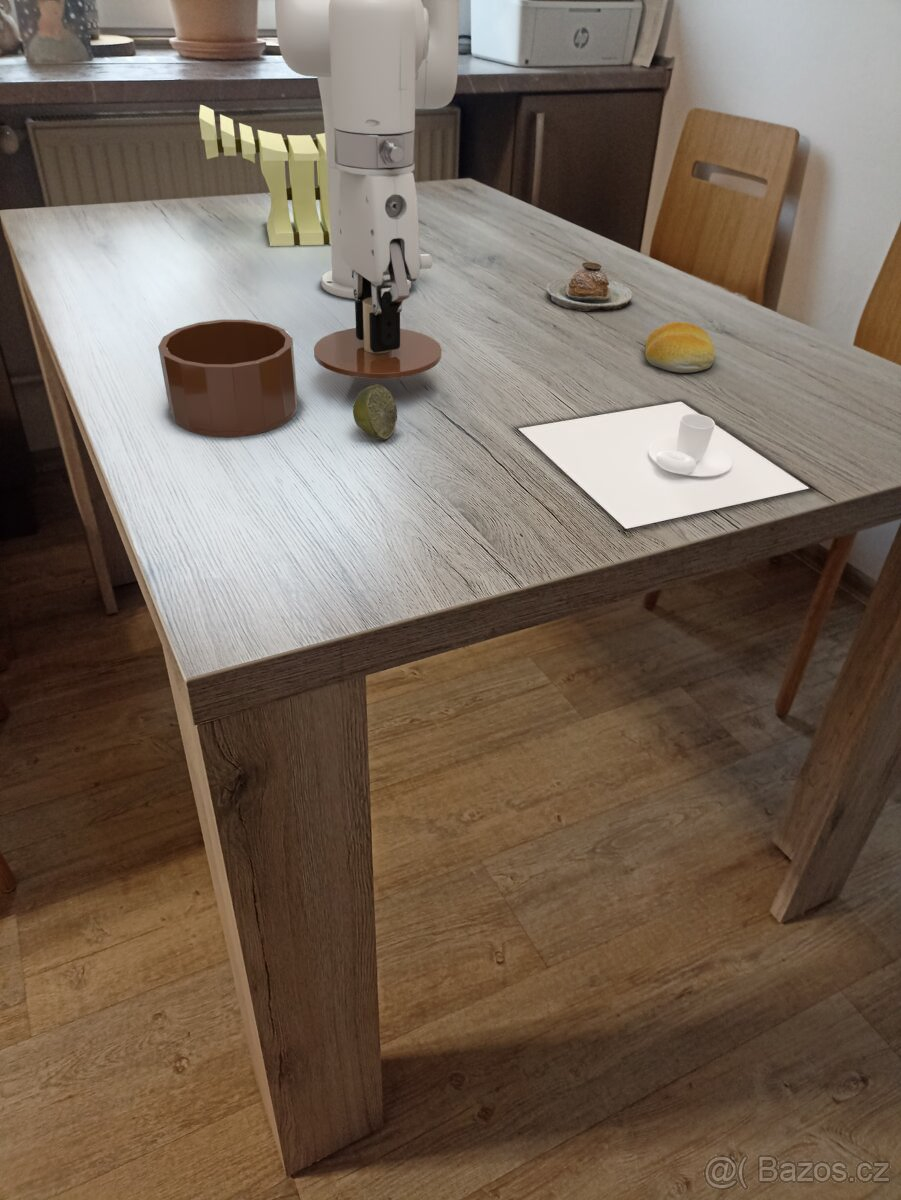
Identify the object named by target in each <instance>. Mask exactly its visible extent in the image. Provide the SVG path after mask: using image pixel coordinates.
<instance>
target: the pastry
mask: <svg viewBox="0 0 901 1200" xmlns="http://www.w3.org/2000/svg"><path fill="white" fill-rule="evenodd" d="M581 265H582V268H579V269H577V270H575V271H574V273H573V274H572V276H569V277H563V278H562V277H561V278H557V279H556V280H553V281H551V282H549V283H548V284H547V285H546V291H547V293H548V294H549V295H550V296H551V297H550V300H551V301H552V302H553V303H554V304H556V305H558V306H561V307H563V308H566V309H572V310H576V311H582V312H583V311H584V312H592V311H596V310H598V309H602V310H606V311H608V310H617V309H621V308H622V307H624V306H626V305H628V304H629V301H630V300H632V299H633V297H634V293H633V291H632V290H631V289H630V288H629V287H627V286H626V285H624V284H622V283H619V282H617V281H615V280H610V279H608V276H607V275H606V272H605V270H603V268H602V265H601V264H599V263H596V262H589V261H588V262H582V264H581Z"/></svg>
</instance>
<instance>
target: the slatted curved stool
mask: <svg viewBox="0 0 901 1200" xmlns="http://www.w3.org/2000/svg"><path fill="white" fill-rule="evenodd" d="M198 115H199V116H198V120H199V127H200V133H201V134H200V135H201V136H200V137H201V140H203V141H204V142H203V143H204V148H205V156H206V160H209V159H213V158H217V157H219V153H223V155H224V157H228V156H229V157H237V154H239V153H241V155H242V159H245V160H248V161H250V162H252V163H253V164H256V158H255V157H256V156H255V155H256V154H257V153H259V165H260V170H261V174H262V176H263V178H264V180H265V183H266V185H267V188H268V191H269V194H270V209H269V210H270V211H269V215H268V218H267V222H266V231H267V235H268V243H269V246H270V247H290V246H291V247H292V246H295V245H299V246H324V245H325V244H329V245H330V246H331V238H330V217H329V196H328V175H327V158H326V141H325V132H323V133H316V134H315V137H312V136H311V135H310V134H305V135H304V134H303V135H301V134H300V135H298V134H297V135H295V134H286V137H283V135H282V134H281V133H275V132H269V131H265V130H260V129H257V137H255V136H254V133H253V128H252V126H251V125H250V126H249V125H246V124H244V123H241V122H238V125H239V136H237V137H235V127H234V119H232V118H230V117H227V116H225V115H223V114H221V113H220V114H219V121H220V122H219V123H220V136H221V137H220V136H217V127H216V120H215V110H214V109H212V108H210V107H208V106H206V105H203V104H199V114H198ZM286 162H288V169H289V183H290V184H289V185H287V180H286V179H287V178H286V176H287V175H286ZM315 162H316V169H317V171H316V172H317V184H315ZM288 201H291V211H292V220H293V224H294V225H293V226H294V228H295V231H294V229H293V226H292V222H291V217H290V211H289V203H288ZM317 201H318V204H319V214H318V208H317ZM319 215H320V218H319Z"/></svg>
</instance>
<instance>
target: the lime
mask: <svg viewBox="0 0 901 1200" xmlns="http://www.w3.org/2000/svg"><path fill="white" fill-rule="evenodd" d="M352 408H353V409H352V416H353V420H354V423H355V425H356V426H357V427H358V428H359V430H361V431H362V432H363V433H365V434H366V435H367V436H370V437H372V438H374V439H376V440H387V439H389V438H390V437H391V436H392V435H393V433H394V431H395V430H396V425H397V421H398V410H397V404H396V402H395V399H394V397H393V394H392V393H391V391H390V390H389V389H387V388H386V387H385V386H384V385H383V384H373V385H370V386H368V387H365V388H364V389H362V390H361V391H360V392H359V393H358V395H357V396H356V398H355V400H354V403H353V407H352Z"/></svg>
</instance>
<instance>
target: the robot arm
mask: <svg viewBox="0 0 901 1200" xmlns="http://www.w3.org/2000/svg"><path fill="white" fill-rule="evenodd" d="M274 11H275V13H274V15H275V28H276V37H277V43H278V47H279V51H280V55H281V57H282V59H283V61H284V62H285V64H286V66H287V67H288V68H289V69H290V70H291V71H293V72H294V73H295V74H298V75H301V76H305V77H314V78H317V79H316V80H317V84H318V90H319V96H320V102H321V108H322V116H323V126H324V127H323V128H324V133H325V141H326V158H327V175H328V196H329V217H330V238H331V245H330V257H331V269H329V270H327V271H325V272H324V273H323V274H322V275H321V277H320V283H321V287H322V289H323V290H324V291H325V292H327V293H329V294H332V295H334V296H337V297H341V298H344V299H345V298H346V299H350V300H351V299H353V300H355V301H354V317H355V328H356V337H357V338H358V339H359V340H364V336H363V300H364V299H366V298H370V297H372V306H373V312H372V313H369V320H370V349H371V350H372V351H373V352H381V351H388V350H395V349H398V348H399V347H400V329H401V312H402V310H403V302H404V301H405V300H407V299H408V298H409V297H410V289H411V287H412V283H413V282H417V281H418V280H419V279H420V276H421V270H427V269H431V268H432V267H433V258H432V256H431V254H430V253H426V254H425V253H424V254H421V251H420V249H421V246H420V245H421V244H420V242H421V241H420V222H419V221H420V219H419V207H418V198H417V188H416V181H415V175H414V173H413V172H414V171H415V169H416V168H415V167H416V166H415V165H416V163H415V162H416V155H415V153H416V148H415V147H416V130H415V129H416V110H437V109H442V108H444V107H446V106H448V105H449V104H450V103H451V102H452V101H453V98H454V97H455V94H456V90H457V85H458V77H459V76H458V73H459V27H460V26H459V25H460V24H459V19H460V18H459V17H460V15H459V14H460V12H459V11H460V0H274Z"/></svg>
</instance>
